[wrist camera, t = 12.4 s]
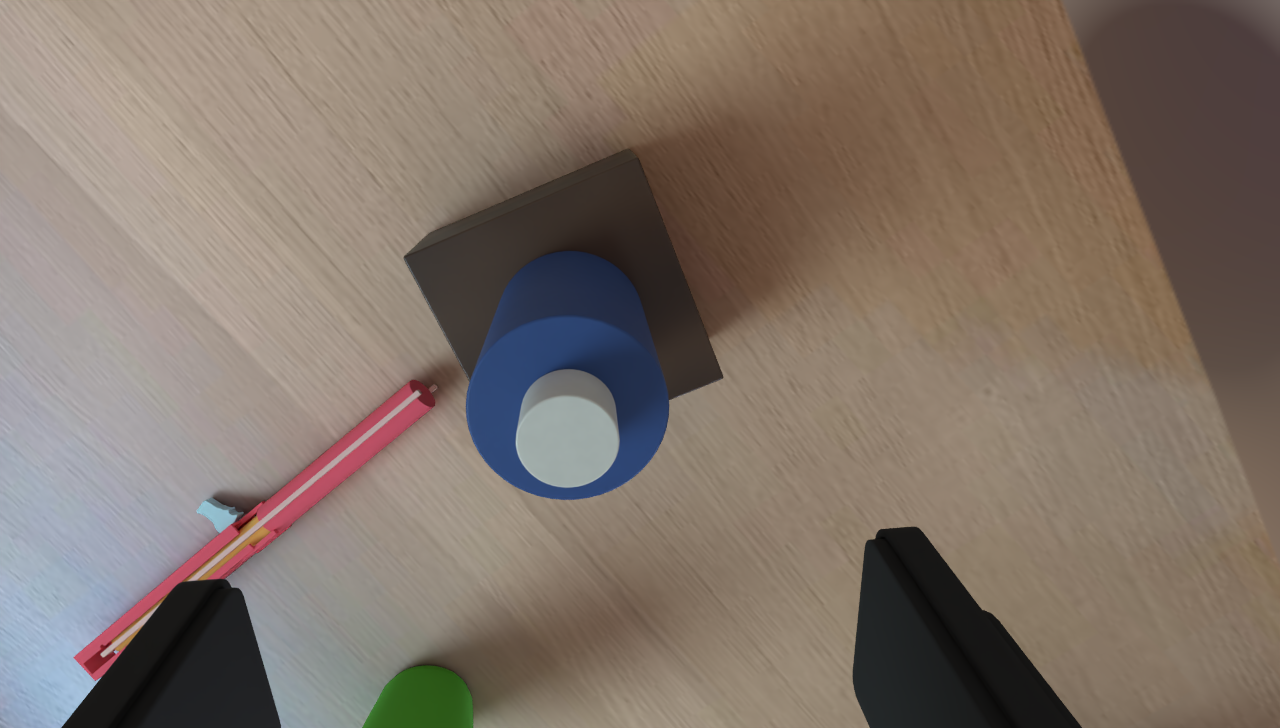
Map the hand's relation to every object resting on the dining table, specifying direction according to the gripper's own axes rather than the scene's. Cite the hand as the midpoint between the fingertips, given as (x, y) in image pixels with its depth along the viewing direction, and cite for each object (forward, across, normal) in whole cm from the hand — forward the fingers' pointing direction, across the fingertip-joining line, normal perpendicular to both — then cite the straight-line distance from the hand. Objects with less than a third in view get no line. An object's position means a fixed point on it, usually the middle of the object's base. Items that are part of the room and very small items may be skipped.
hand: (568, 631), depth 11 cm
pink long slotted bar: (+25, +17, +13) cm, 33 cm away
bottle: (+20, 0, +2) cm, 20 cm away
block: (+25, 0, +2) cm, 25 cm away
